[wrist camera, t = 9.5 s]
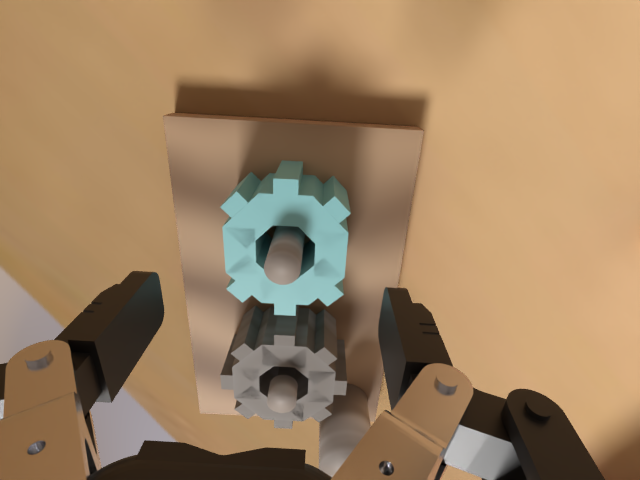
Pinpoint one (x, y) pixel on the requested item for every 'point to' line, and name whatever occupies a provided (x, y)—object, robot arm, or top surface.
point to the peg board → (261, 154)
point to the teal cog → (286, 210)
